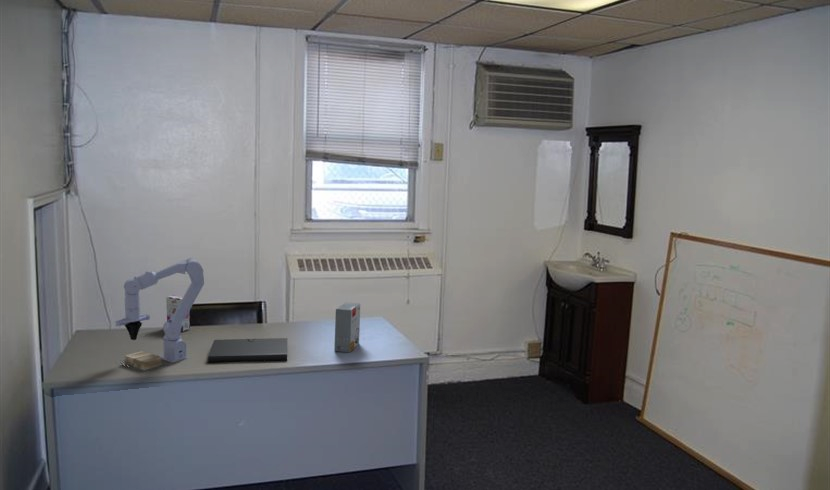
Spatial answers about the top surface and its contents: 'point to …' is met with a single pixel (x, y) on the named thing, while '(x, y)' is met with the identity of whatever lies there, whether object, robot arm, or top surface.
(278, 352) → the closed laptop
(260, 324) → the top surface
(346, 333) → the hard drive box
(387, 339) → the top surface
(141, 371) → the mat
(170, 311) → the candy bar box
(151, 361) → the maple block
